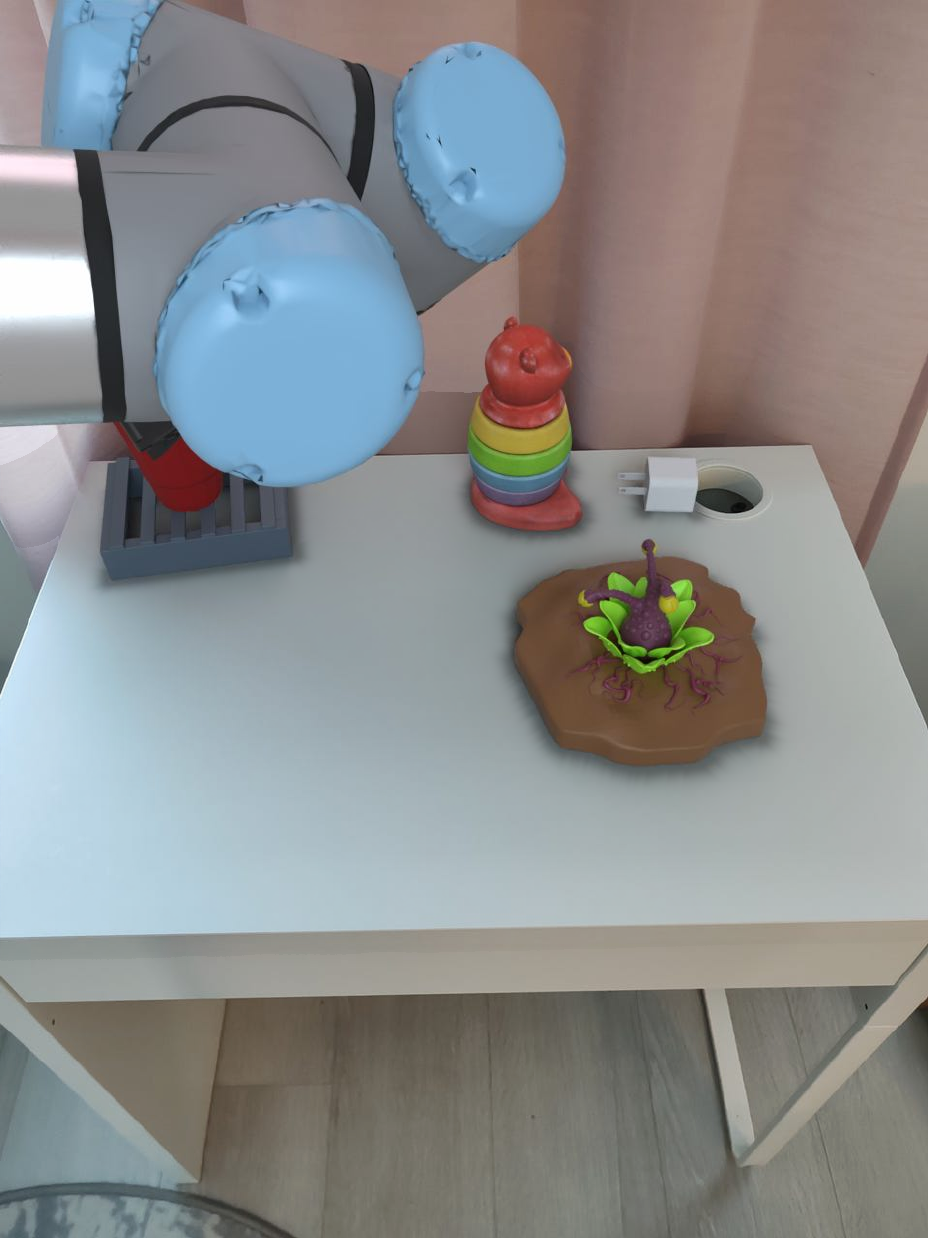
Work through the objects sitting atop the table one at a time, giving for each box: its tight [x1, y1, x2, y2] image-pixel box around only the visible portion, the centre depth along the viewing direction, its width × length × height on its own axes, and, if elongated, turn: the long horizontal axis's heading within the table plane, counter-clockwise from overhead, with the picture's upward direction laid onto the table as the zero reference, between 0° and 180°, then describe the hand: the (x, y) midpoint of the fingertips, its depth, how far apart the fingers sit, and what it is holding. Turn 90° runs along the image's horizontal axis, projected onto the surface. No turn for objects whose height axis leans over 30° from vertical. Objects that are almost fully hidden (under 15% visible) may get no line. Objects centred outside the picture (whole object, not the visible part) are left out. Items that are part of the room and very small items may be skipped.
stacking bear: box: [467, 316, 583, 532], centre depth 88 cm, size 11×10×18 cm
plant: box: [513, 538, 768, 767], centre depth 77 cm, size 20×20×11 cm
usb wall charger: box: [616, 456, 699, 513], centre depth 92 cm, size 4×7×4 cm, turn 87°
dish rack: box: [99, 456, 293, 581], centre depth 91 cm, size 16×12×4 cm
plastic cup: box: [112, 422, 224, 513], centre depth 85 cm, size 11×11×12 cm
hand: (228, 396), depth 70 cm, fingers open, 13 cm apart
